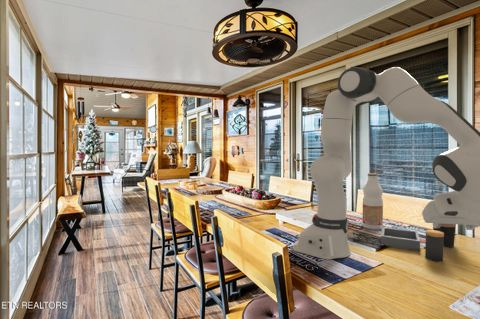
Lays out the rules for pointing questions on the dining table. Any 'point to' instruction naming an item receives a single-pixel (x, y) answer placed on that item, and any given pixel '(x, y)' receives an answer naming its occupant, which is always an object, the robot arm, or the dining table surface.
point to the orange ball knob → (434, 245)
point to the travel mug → (447, 234)
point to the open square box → (400, 238)
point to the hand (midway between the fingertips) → (451, 227)
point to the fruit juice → (373, 203)
